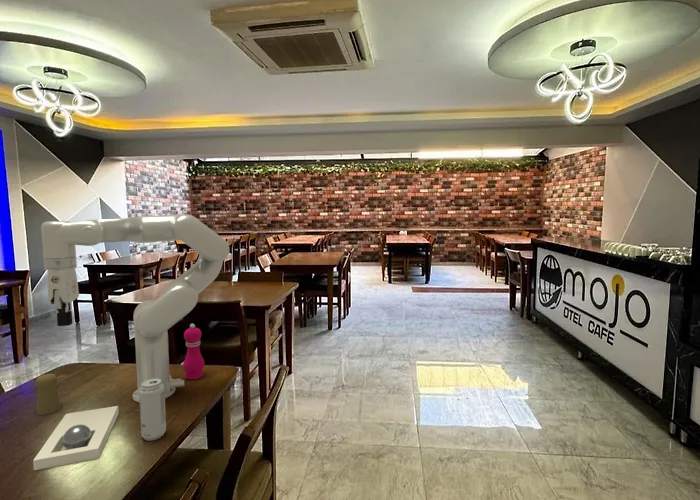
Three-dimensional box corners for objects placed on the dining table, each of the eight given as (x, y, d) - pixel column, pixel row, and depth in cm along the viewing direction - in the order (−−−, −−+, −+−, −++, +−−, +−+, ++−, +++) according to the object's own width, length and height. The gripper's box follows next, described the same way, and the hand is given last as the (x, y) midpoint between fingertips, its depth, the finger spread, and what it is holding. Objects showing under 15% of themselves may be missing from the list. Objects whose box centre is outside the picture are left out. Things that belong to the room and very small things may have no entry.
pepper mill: (191, 382, 134) (189, 327, 132) (179, 377, 138) (177, 324, 136) (209, 375, 140) (207, 322, 138) (196, 371, 144) (194, 319, 142)
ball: (95, 420, 99) (82, 438, 93) (96, 437, 101) (83, 457, 95) (71, 418, 98) (56, 436, 92) (71, 436, 100) (57, 455, 94)
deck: (118, 413, 113) (118, 405, 113) (98, 458, 93) (98, 448, 93) (66, 422, 109) (66, 413, 109) (33, 470, 88) (33, 460, 88)
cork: (47, 416, 112) (44, 380, 111) (30, 413, 113) (27, 378, 112) (66, 406, 118) (63, 372, 117) (50, 404, 119) (47, 370, 118)
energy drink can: (142, 432, 104) (139, 379, 103) (166, 426, 107) (164, 375, 105) (140, 444, 99) (137, 389, 97) (166, 438, 101) (163, 384, 100)
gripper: (67, 266, 104) (71, 331, 106) (83, 260, 118) (87, 317, 120) (33, 267, 102) (39, 334, 103) (54, 261, 116) (59, 319, 117)
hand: (65, 324), depth 112 cm, fingers closed
